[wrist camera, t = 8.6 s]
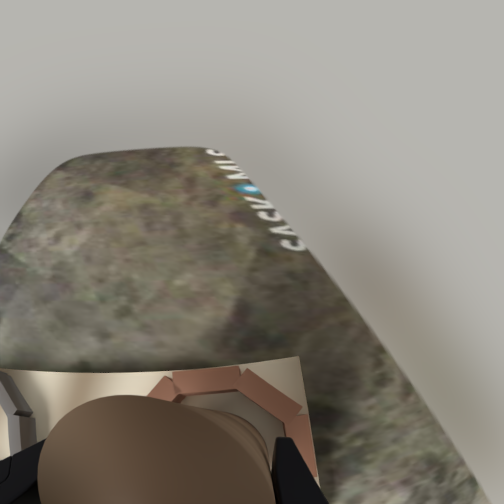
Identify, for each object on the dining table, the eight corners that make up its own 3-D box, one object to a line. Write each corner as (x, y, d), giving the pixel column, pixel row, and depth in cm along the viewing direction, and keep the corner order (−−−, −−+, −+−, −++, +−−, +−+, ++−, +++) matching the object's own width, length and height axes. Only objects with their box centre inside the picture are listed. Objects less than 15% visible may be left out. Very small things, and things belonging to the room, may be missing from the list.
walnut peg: (179, 506, 10) (73, 589, 2) (158, 417, 12) (23, 398, 4) (278, 492, 10) (302, 595, 3) (255, 402, 12) (243, 375, 5)
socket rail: (296, 360, 15) (302, 349, 13) (320, 513, 11) (330, 529, 9) (-28, 367, 15) (-53, 357, 12) (-23, 476, 10) (-49, 474, 8)
